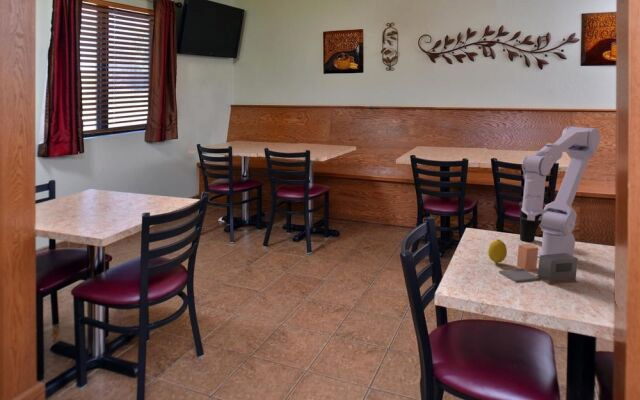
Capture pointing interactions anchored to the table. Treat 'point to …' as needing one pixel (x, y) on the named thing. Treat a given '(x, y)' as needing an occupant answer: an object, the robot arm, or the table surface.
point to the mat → (519, 275)
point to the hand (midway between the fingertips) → (529, 237)
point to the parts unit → (557, 268)
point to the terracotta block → (527, 257)
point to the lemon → (497, 251)
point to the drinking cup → (522, 225)
